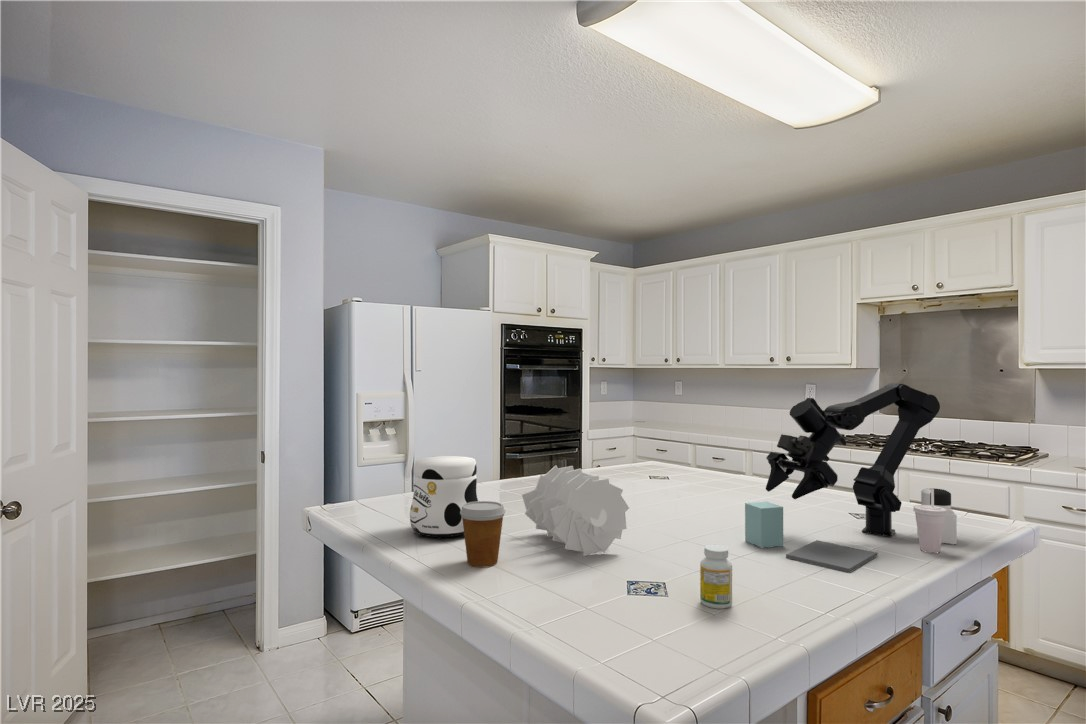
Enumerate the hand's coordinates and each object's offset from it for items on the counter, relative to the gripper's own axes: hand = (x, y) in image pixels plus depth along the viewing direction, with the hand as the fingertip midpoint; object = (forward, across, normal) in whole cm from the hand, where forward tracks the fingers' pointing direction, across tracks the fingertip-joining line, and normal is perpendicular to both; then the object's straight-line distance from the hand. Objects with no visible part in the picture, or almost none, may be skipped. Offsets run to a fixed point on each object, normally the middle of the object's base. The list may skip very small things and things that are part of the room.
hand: (779, 494), depth 142 cm
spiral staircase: (+42, -12, -25) cm, 50 cm away
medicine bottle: (-19, +9, +35) cm, 40 cm away
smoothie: (-12, +16, +28) cm, 34 cm away
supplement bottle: (+34, +28, -17) cm, 47 cm away
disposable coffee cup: (+58, -5, -41) cm, 72 cm away
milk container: (+61, -31, -44) cm, 82 cm away
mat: (+6, +13, +10) cm, 17 cm away
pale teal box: (+11, 0, +5) cm, 12 cm away
